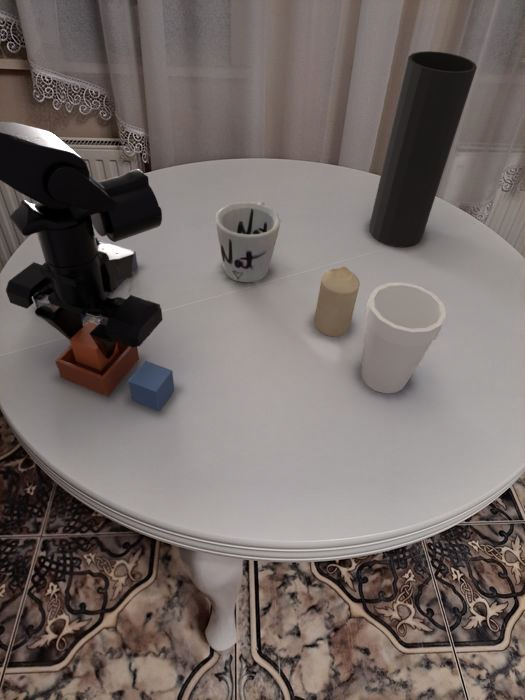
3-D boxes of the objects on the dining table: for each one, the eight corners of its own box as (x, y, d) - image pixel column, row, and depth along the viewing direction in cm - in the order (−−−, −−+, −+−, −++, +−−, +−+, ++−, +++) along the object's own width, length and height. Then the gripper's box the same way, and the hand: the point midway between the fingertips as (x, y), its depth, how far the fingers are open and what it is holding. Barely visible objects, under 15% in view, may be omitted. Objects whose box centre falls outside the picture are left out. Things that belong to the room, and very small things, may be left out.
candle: (309, 330, 78) (317, 278, 70) (320, 309, 81) (329, 257, 74) (343, 341, 76) (356, 288, 69) (353, 319, 80) (366, 267, 73)
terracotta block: (75, 361, 67) (69, 339, 65) (94, 342, 70) (88, 320, 67) (101, 371, 66) (95, 349, 64) (118, 351, 69) (114, 330, 66)
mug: (207, 280, 85) (205, 228, 78) (234, 234, 95) (235, 184, 88) (267, 294, 83) (271, 241, 76) (288, 245, 93) (293, 195, 86)
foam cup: (339, 360, 73) (355, 289, 64) (394, 346, 76) (417, 276, 67) (371, 409, 67) (395, 339, 58) (430, 392, 70) (461, 323, 61)
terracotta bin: (60, 377, 68) (54, 360, 66) (94, 342, 73) (90, 325, 71) (107, 396, 67) (103, 379, 64) (139, 359, 71) (136, 342, 69)
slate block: (132, 401, 66) (128, 381, 63) (148, 380, 69) (145, 360, 66) (158, 411, 65) (155, 391, 62) (174, 390, 68) (172, 370, 65)
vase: (404, 215, 103) (450, 49, 82) (432, 242, 97) (491, 70, 75) (359, 222, 100) (395, 53, 79) (385, 251, 94) (432, 74, 72)
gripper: (181, 239, 59) (188, 335, 71) (51, 200, 64) (76, 296, 75) (127, 292, 52) (144, 390, 63) (-16, 244, 57) (23, 343, 68)
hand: (96, 351), depth 67 cm, fingers closed on terracotta block, 4 cm apart
